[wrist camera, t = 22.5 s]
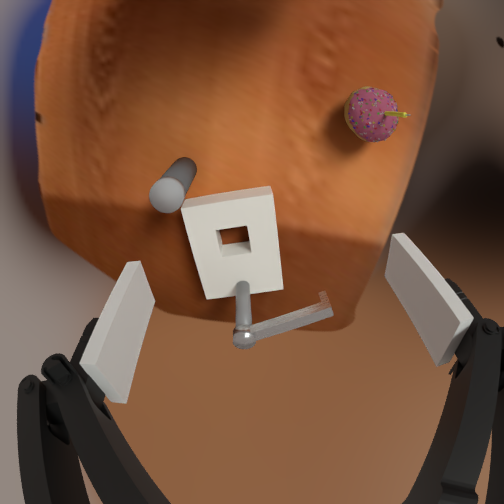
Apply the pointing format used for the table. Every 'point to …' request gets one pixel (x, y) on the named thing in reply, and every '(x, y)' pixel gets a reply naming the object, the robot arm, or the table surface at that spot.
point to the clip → (281, 323)
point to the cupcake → (372, 114)
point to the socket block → (235, 245)
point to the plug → (173, 186)
